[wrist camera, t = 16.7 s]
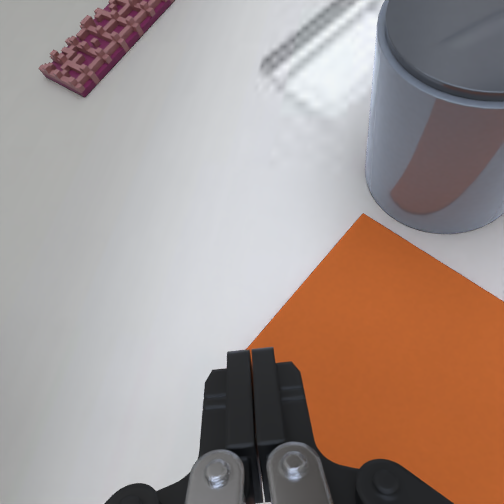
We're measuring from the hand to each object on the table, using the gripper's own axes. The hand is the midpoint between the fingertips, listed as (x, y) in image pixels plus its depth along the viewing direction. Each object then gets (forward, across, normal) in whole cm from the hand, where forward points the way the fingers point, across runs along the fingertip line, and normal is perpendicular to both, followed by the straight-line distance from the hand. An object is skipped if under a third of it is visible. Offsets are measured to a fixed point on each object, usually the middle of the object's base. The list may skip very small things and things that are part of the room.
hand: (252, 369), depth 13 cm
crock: (+23, -16, +2) cm, 28 cm away
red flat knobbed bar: (+47, +13, -12) cm, 50 cm away
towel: (+10, -11, +14) cm, 20 cm away
